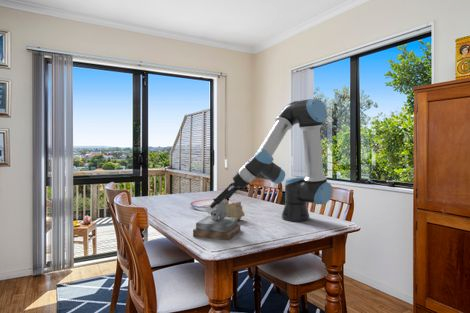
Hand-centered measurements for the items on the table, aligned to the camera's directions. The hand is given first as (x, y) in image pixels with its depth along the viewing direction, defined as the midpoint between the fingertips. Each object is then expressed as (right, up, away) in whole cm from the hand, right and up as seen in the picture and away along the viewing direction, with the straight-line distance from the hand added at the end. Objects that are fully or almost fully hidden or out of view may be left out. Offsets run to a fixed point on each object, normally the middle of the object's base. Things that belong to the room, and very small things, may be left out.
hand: (211, 209), depth 146 cm
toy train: (+8, -10, +27) cm, 30 cm away
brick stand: (+3, -11, 0) cm, 11 cm away
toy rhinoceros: (+3, -5, 0) cm, 6 cm away
